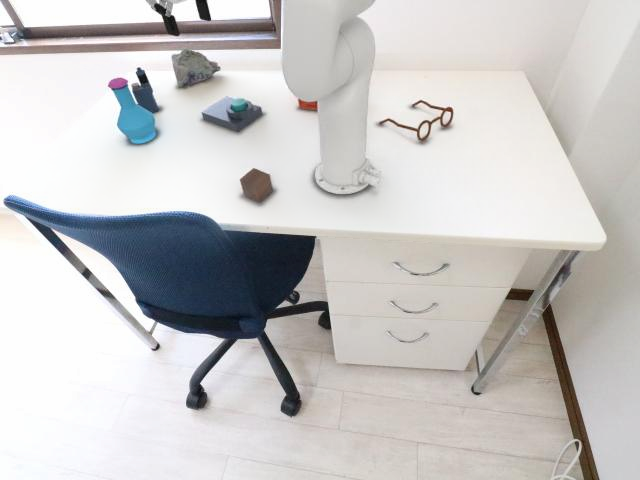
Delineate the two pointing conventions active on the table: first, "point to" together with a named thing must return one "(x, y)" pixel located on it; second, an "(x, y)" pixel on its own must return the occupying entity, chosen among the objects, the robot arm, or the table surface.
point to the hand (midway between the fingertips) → (190, 27)
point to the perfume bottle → (132, 114)
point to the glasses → (448, 109)
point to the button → (238, 104)
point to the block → (256, 185)
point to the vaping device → (144, 92)
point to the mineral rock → (192, 67)
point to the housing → (231, 114)
